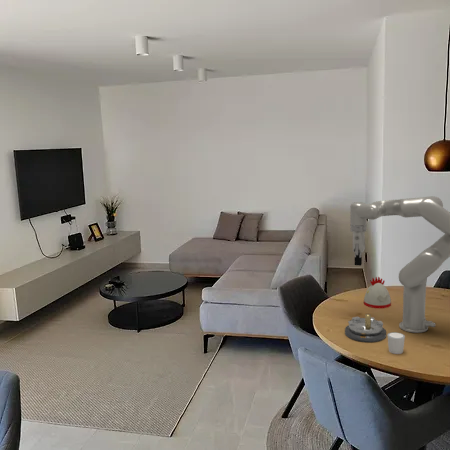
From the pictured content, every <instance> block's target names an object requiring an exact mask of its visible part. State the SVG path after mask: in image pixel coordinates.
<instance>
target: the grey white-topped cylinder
mask: <svg viewBox="0 0 450 450" xmlns="http://www.w3.org/2000/svg"><path fill="white" fill-rule="evenodd" d="M386 337H387V347H388V348H387V349H388V352H389V353H390V354H393V355H394V354H395V355H401V354H403V353H404V348H405V340H406V339H405V338H406V336H405V334H403V333H401V332H388V333H387V334H386Z"/></svg>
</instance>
